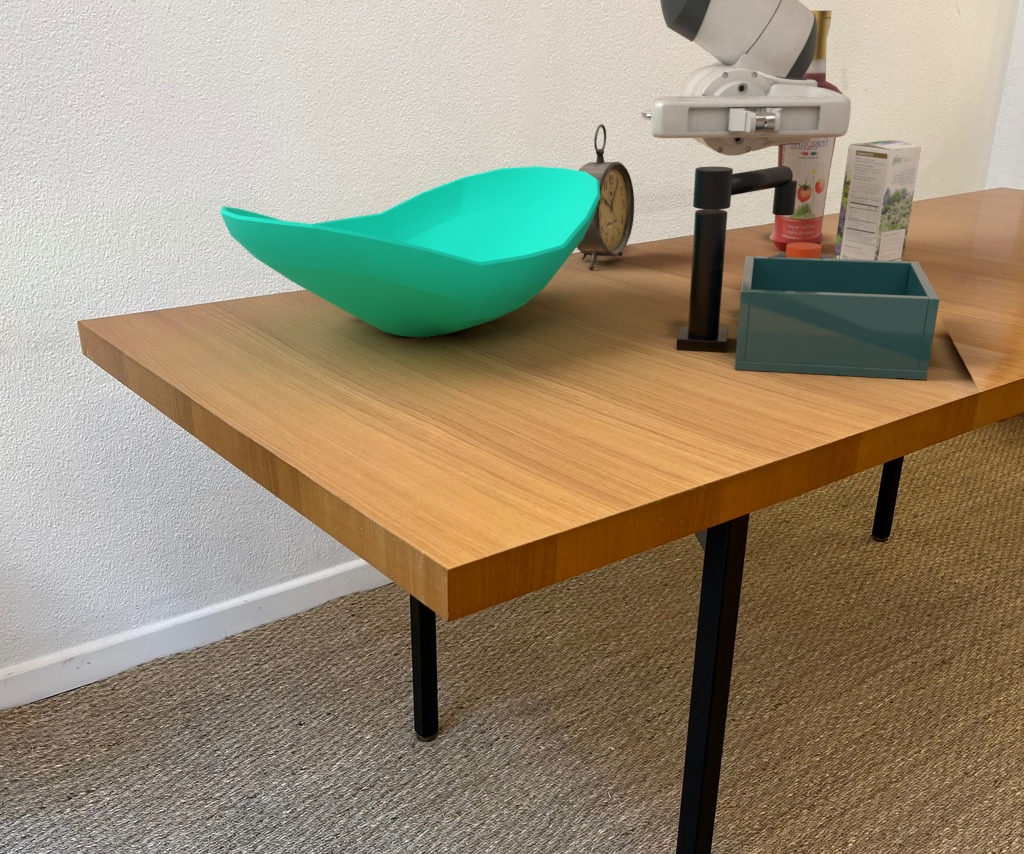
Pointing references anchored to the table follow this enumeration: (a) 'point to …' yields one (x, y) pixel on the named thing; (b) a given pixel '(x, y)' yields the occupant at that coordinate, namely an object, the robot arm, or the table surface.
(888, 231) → the syrup box
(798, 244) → the button
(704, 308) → the dark post on base
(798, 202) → the liquor
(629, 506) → the table surface
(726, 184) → the spout
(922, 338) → the sink
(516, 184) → the table top decor
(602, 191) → the alarm clock
